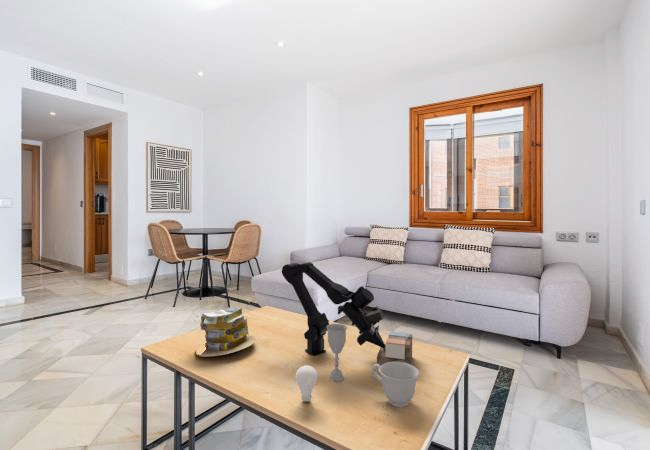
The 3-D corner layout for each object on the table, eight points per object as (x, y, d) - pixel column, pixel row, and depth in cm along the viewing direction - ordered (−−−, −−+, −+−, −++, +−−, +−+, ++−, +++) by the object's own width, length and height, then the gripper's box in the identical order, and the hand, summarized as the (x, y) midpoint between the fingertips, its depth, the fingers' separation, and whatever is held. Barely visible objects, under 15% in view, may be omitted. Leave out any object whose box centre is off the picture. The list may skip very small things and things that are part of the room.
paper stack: (182, 353, 140) (181, 313, 140) (229, 334, 161) (228, 299, 160) (222, 368, 127) (221, 324, 126) (268, 345, 148) (267, 307, 147)
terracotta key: (385, 356, 126) (385, 342, 126) (387, 352, 130) (387, 337, 130) (404, 359, 124) (404, 344, 124) (405, 354, 128) (405, 340, 128)
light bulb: (295, 396, 108) (295, 362, 107) (316, 395, 108) (316, 361, 108) (295, 408, 101) (295, 372, 101) (317, 407, 102) (317, 371, 101)
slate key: (388, 348, 134) (388, 334, 133) (389, 344, 138) (389, 330, 138) (406, 350, 132) (406, 336, 131) (407, 346, 136) (407, 332, 136)
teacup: (380, 385, 114) (380, 355, 114) (424, 399, 106) (424, 367, 105) (363, 401, 104) (363, 369, 104) (410, 418, 96) (410, 384, 95)
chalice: (349, 374, 121) (349, 325, 121) (344, 384, 115) (344, 331, 114) (329, 371, 124) (329, 322, 123) (323, 380, 117) (323, 329, 117)
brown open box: (376, 367, 127) (376, 342, 127) (381, 353, 139) (382, 330, 139) (409, 372, 123) (410, 346, 123) (412, 357, 136) (412, 333, 135)
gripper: (366, 308, 120) (397, 343, 117) (374, 296, 138) (402, 325, 135) (344, 328, 123) (374, 362, 120) (355, 313, 141) (382, 342, 138)
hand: (384, 347), depth 128 cm, fingers closed
